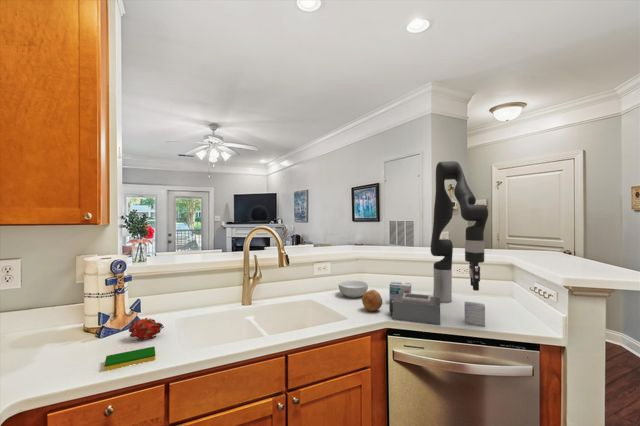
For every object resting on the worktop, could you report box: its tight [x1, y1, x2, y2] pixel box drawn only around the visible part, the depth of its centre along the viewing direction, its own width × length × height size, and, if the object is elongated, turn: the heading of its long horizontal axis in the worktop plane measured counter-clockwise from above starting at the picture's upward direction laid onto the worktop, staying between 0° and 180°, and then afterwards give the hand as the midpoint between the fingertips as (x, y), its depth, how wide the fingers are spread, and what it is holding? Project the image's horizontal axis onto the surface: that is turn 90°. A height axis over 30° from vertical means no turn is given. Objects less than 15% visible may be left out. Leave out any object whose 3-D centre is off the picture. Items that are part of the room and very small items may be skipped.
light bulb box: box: [388, 280, 412, 304], centre depth 161 cm, size 11×7×11 cm, turn 68°
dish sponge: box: [103, 346, 156, 372], centre depth 100 cm, size 7×14×2 cm, turn 120°
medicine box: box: [464, 301, 486, 327], centre depth 133 cm, size 8×4×9 cm, turn 65°
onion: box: [361, 289, 383, 312], centre depth 150 cm, size 10×10×10 cm
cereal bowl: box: [338, 280, 369, 299], centre depth 176 cm, size 17×17×7 cm
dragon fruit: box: [128, 317, 165, 342], centre depth 118 cm, size 8×8×12 cm
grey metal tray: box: [388, 292, 441, 326], centre depth 141 cm, size 14×22×10 cm, turn 70°
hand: (474, 288), depth 132 cm, fingers open, 8 cm apart
